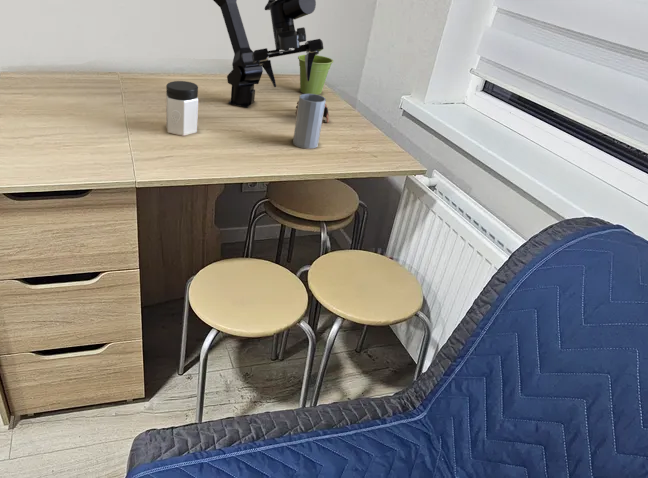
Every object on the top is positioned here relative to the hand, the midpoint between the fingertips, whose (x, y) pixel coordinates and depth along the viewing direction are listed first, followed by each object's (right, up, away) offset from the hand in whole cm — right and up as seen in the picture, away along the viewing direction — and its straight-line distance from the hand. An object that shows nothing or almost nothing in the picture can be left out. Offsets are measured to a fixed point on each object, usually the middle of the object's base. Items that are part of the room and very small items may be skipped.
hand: (291, 84), depth 142 cm
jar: (-30, -13, -2) cm, 33 cm away
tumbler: (+3, -17, -3) cm, 17 cm away
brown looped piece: (+7, -6, +14) cm, 17 cm away
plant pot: (+10, +8, +36) cm, 38 cm away
